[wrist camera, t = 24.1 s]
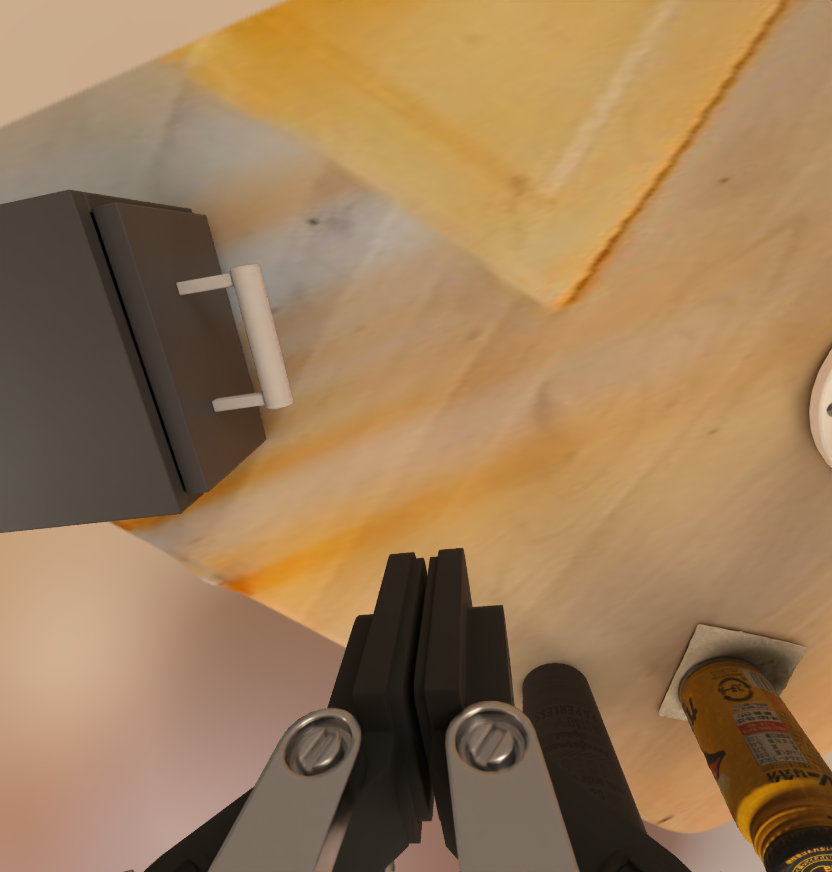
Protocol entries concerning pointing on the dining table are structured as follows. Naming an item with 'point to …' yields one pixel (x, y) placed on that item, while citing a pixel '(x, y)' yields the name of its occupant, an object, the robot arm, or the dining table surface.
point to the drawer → (194, 337)
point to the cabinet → (73, 378)
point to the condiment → (756, 745)
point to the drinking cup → (576, 734)
